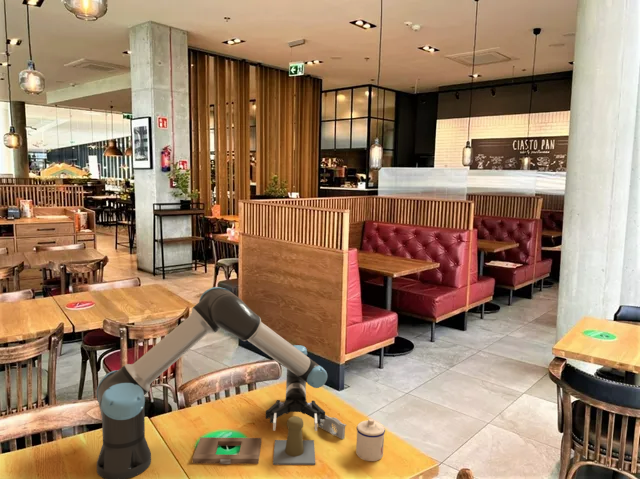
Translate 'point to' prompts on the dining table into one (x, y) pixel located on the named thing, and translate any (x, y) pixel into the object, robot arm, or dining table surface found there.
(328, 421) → the garden wall model
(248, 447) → the walnut holder
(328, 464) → the dining table surface
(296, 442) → the brown tall rounded piece
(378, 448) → the teacup with lid
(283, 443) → the gray mat
